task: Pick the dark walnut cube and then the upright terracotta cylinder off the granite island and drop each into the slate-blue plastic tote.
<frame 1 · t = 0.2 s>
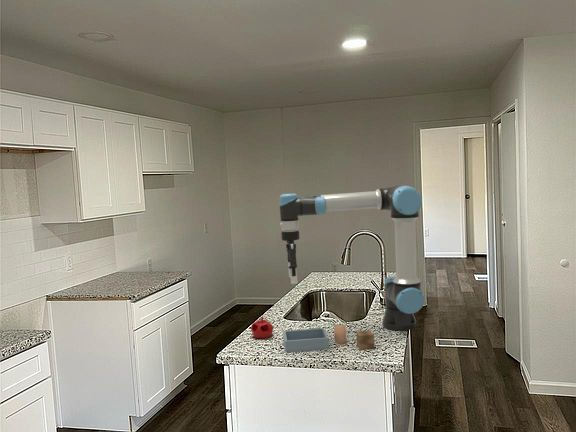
hand: (293, 280, 218), 28 cm above the worktop, fingers open, 13 cm apart
tote: (305, 345, 218), on the worktop
walnut cube: (365, 347, 212), on the worktop
terracotta cylinder: (340, 342, 219), on the worktop
pomegranate: (262, 337, 233), on the worktop
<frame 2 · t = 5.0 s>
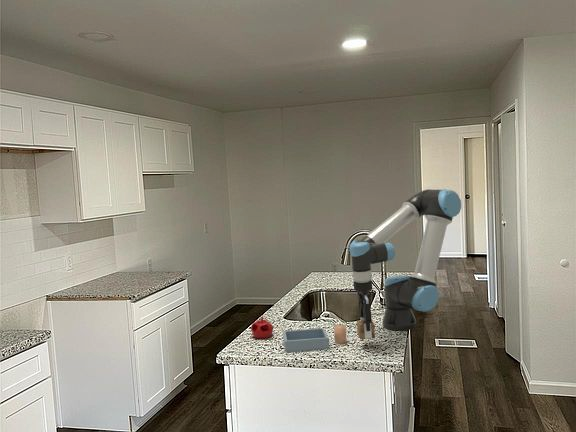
hand: (366, 335, 212), 5 cm above the worktop, fingers closed on walnut cube, 6 cm apart
walnut cube: (366, 336, 212), point 4 cm above the worktop, touching gripper
everything else where it was.
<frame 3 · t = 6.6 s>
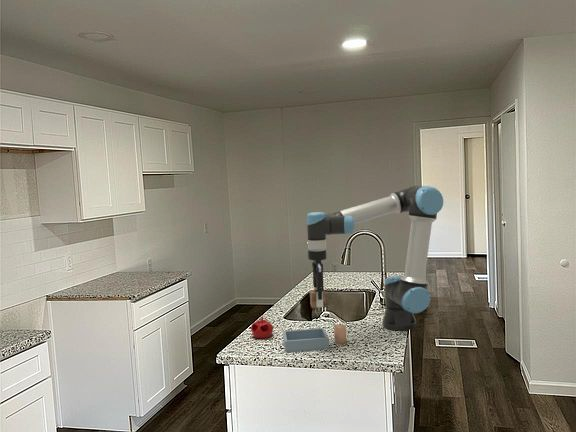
hand: (318, 304, 214), 18 cm above the worktop, fingers closed on walnut cube, 6 cm apart
walnut cube: (318, 305, 214), point 17 cm above the worktop, touching gripper
everything else where it was.
when the fingers open (6 cm above the worktop, at t = 8.5 s): walnut cube drops 5 cm, resting on tote.
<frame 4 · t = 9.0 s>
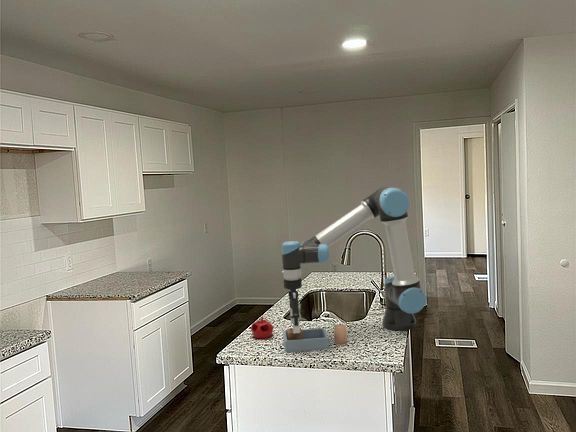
hand: (295, 328, 217), 8 cm above the worktop, fingers open, 13 cm apart
walnut cube: (295, 344, 218), point 1 cm above the worktop, touching tote
everything else where it was.
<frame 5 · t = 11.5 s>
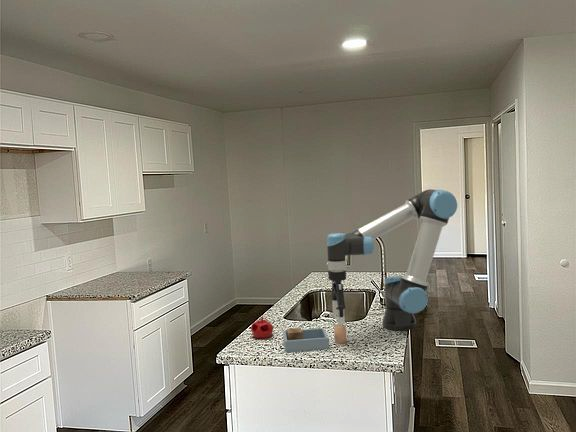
hand: (338, 319, 218), 10 cm above the worktop, fingers open, 13 cm apart
nothing on the worktop moved.
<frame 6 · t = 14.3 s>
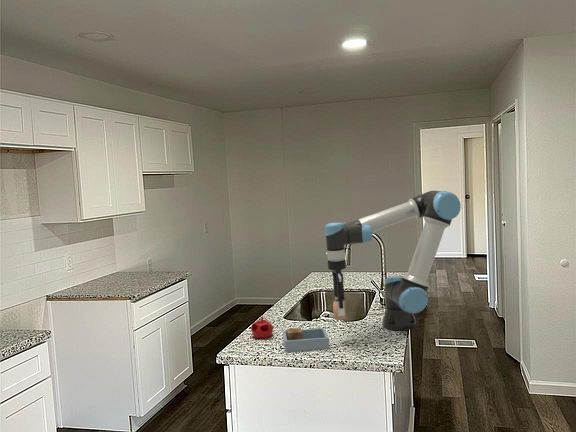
hand: (340, 313, 218), 12 cm above the worktop, fingers closed on terracotta cylinder, 5 cm apart
terracotta cylinder: (339, 318, 218), point 10 cm above the worktop, touching gripper
everything else where it was.
when the fingers open (6 cm above the worktop, at t = 16.5 s): terracotta cylinder drops 3 cm, resting on tote.
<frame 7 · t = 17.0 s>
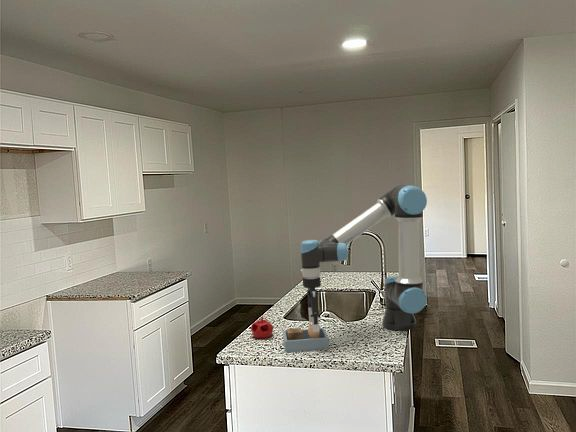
hand: (314, 326, 218), 8 cm above the worktop, fingers open, 13 cm apart
terracotta cylinder: (313, 342, 219), point 1 cm above the worktop, touching tote
everything else where it was.
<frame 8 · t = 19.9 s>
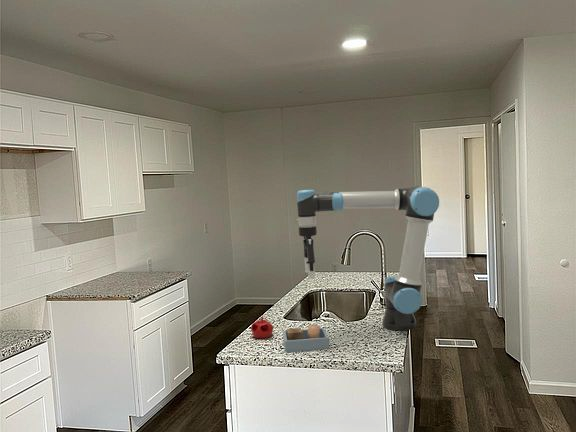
hand: (310, 275, 221), 29 cm above the worktop, fingers open, 13 cm apart
nothing on the worktop moved.
at the end: walnut cube inside the target area on the tote (4.4 cm from its centre), point 0.6 cm above the tote's base; terracotta cylinder inside the target area on the tote (3.5 cm from its centre), point 0.7 cm above the tote's base; the gripper is holding nothing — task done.
